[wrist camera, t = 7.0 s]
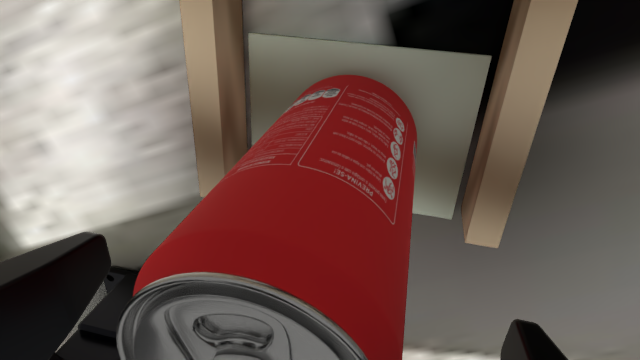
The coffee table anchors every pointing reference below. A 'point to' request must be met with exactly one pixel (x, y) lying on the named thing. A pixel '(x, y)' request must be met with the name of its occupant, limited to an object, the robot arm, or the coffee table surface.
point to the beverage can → (291, 242)
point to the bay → (400, 76)
